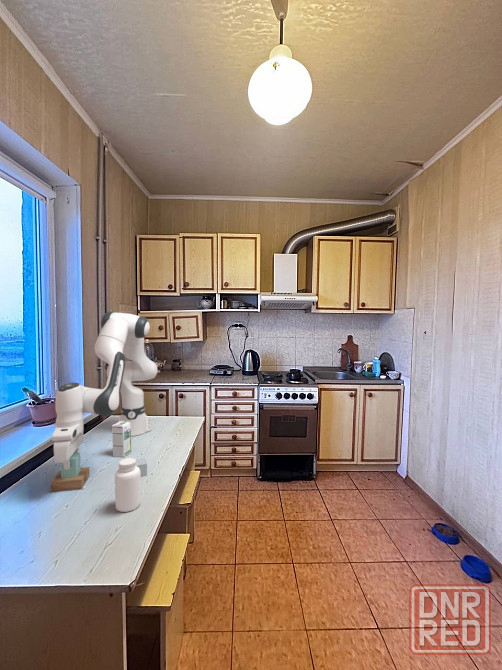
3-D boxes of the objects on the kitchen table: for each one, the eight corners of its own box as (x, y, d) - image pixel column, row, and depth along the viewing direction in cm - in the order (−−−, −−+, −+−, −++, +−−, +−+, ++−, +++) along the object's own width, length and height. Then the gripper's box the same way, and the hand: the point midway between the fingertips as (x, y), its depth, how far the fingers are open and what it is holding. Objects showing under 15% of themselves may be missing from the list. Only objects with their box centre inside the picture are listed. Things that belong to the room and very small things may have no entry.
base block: (61, 479, 120) (61, 469, 120) (89, 476, 123) (89, 466, 122) (51, 493, 111) (50, 483, 110) (81, 490, 113) (81, 479, 113)
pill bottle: (121, 498, 107) (121, 455, 107) (144, 498, 107) (144, 456, 106) (110, 512, 99) (109, 466, 99) (135, 513, 99) (134, 467, 98)
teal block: (66, 472, 118) (65, 454, 118) (80, 470, 119) (80, 452, 119) (61, 478, 113) (60, 459, 113) (76, 477, 115) (75, 458, 114)
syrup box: (124, 457, 139) (123, 425, 138) (112, 456, 140) (111, 424, 139) (131, 452, 144) (131, 421, 144) (120, 451, 145) (119, 420, 145)
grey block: (131, 473, 125) (131, 461, 125) (144, 470, 127) (144, 458, 127) (133, 478, 120) (133, 466, 120) (147, 476, 123) (146, 463, 123)
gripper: (70, 419, 125) (71, 452, 126) (49, 438, 105) (50, 478, 106) (87, 418, 126) (88, 451, 127) (70, 436, 106) (71, 476, 107)
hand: (70, 463), depth 116 cm, fingers open, 6 cm apart
